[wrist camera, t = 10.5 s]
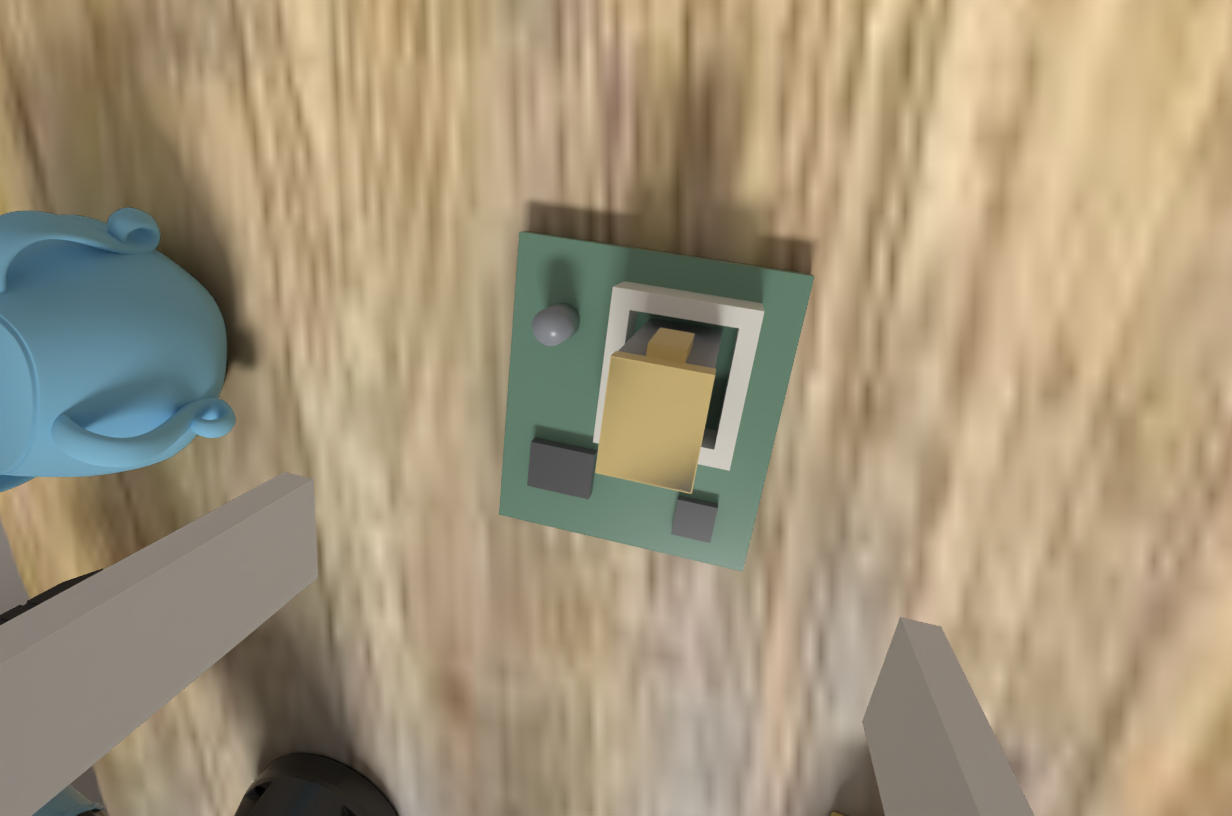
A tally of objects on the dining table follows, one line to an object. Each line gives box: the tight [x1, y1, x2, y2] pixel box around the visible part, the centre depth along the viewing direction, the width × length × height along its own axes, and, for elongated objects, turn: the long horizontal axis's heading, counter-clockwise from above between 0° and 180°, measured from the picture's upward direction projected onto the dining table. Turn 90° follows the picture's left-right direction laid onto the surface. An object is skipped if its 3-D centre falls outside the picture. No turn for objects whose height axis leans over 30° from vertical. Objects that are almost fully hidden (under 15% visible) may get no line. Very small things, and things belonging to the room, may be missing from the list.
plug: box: [595, 318, 723, 494], centre depth 27 cm, size 4×6×10 cm
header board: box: [499, 231, 814, 571], centre depth 33 cm, size 16×18×4 cm
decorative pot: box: [0, 208, 236, 492], centre depth 35 cm, size 16×16×14 cm
